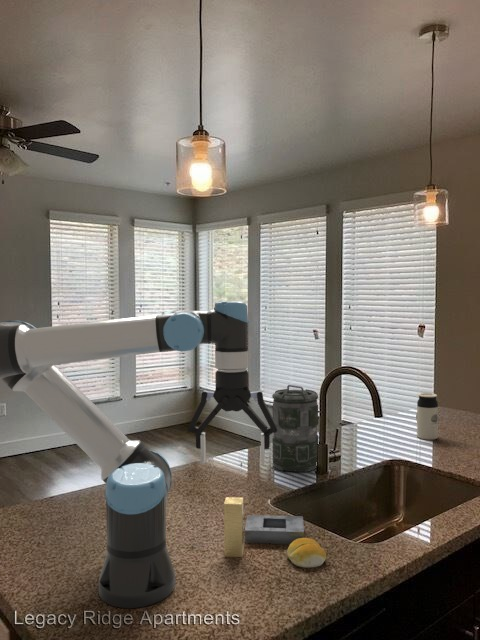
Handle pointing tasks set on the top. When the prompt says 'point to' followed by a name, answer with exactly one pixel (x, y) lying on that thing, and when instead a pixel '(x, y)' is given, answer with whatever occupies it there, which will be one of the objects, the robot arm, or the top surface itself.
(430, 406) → the travel mug
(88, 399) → the robot arm
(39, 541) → the top surface
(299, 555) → the bread roll
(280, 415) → the canister
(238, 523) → the brass peg
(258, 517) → the grey slotted block
